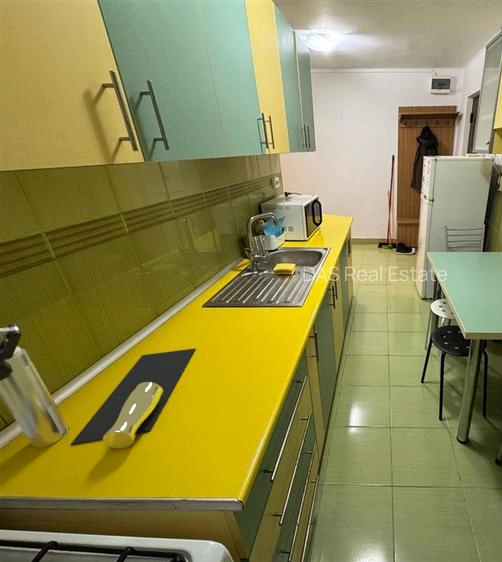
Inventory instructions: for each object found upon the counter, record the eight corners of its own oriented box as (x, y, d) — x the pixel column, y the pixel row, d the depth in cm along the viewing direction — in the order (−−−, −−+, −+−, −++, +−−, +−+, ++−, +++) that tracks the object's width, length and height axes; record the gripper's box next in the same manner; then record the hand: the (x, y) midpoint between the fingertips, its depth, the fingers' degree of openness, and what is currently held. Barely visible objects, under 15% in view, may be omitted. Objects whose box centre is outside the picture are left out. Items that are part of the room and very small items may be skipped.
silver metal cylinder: (41, 451, 71) (-13, 365, 61) (26, 443, 73) (-29, 358, 63) (75, 429, 77) (30, 347, 67) (59, 423, 79) (13, 342, 69)
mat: (70, 445, 73) (70, 444, 72) (142, 355, 105) (142, 354, 105) (150, 431, 76) (149, 430, 76) (196, 349, 108) (195, 348, 108)
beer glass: (101, 428, 68) (137, 378, 81) (98, 448, 70) (133, 396, 83) (137, 433, 70) (166, 384, 83) (133, 452, 73) (161, 401, 86)
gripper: (-20, 281, 47) (46, 341, 60) (-165, 325, 40) (-55, 383, 52) (-9, 310, 45) (58, 367, 57) (-164, 365, 37) (-47, 416, 49)
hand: (4, 375), depth 54 cm, fingers closed
